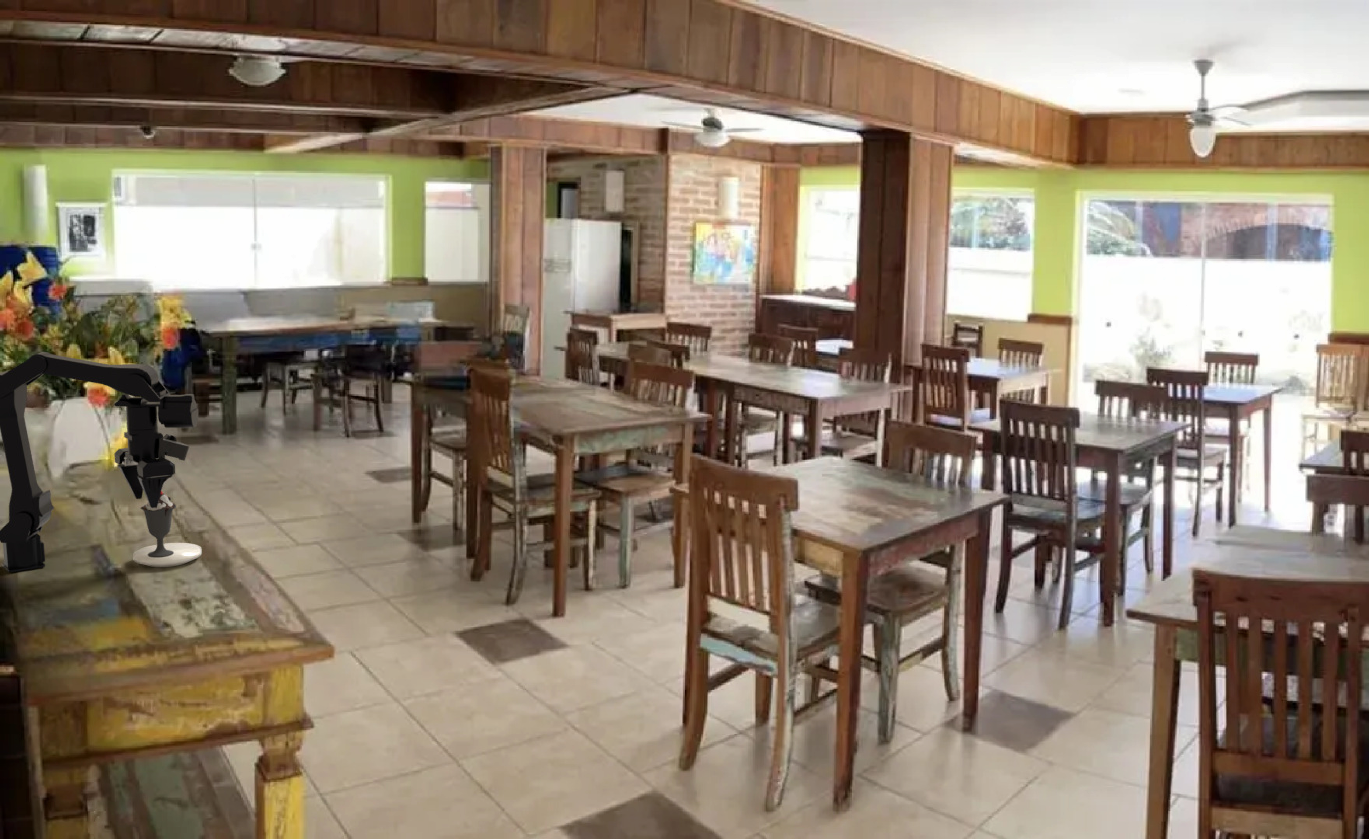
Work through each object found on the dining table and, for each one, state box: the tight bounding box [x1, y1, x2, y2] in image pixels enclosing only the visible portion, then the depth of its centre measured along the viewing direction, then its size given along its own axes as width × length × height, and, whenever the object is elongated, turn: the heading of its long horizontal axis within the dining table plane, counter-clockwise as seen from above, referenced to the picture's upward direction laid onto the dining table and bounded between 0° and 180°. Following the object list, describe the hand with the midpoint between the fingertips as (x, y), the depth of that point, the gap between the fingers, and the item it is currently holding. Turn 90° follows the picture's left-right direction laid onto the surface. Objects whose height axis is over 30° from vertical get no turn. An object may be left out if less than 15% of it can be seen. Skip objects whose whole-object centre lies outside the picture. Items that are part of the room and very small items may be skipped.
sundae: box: [140, 490, 177, 557], centre depth 244 cm, size 7×7×15 cm
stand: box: [132, 542, 202, 568], centre depth 248 cm, size 13×13×2 cm
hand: (146, 503), depth 244 cm, fingers open, 9 cm apart
